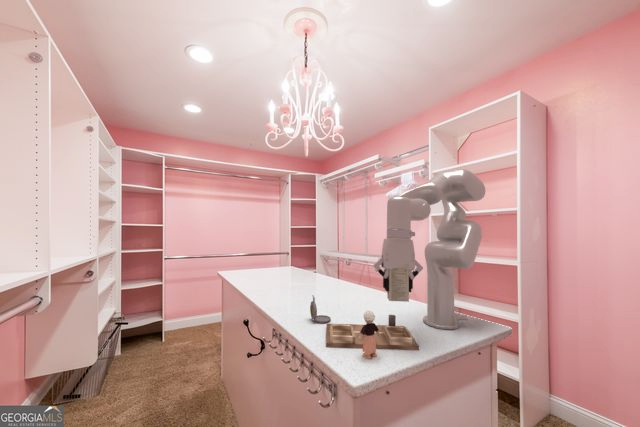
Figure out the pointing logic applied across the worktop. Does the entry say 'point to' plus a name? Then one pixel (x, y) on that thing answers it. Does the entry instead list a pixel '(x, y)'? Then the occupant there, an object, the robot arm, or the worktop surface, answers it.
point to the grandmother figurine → (369, 335)
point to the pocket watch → (314, 313)
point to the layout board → (388, 336)
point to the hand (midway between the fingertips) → (397, 290)
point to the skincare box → (399, 284)
